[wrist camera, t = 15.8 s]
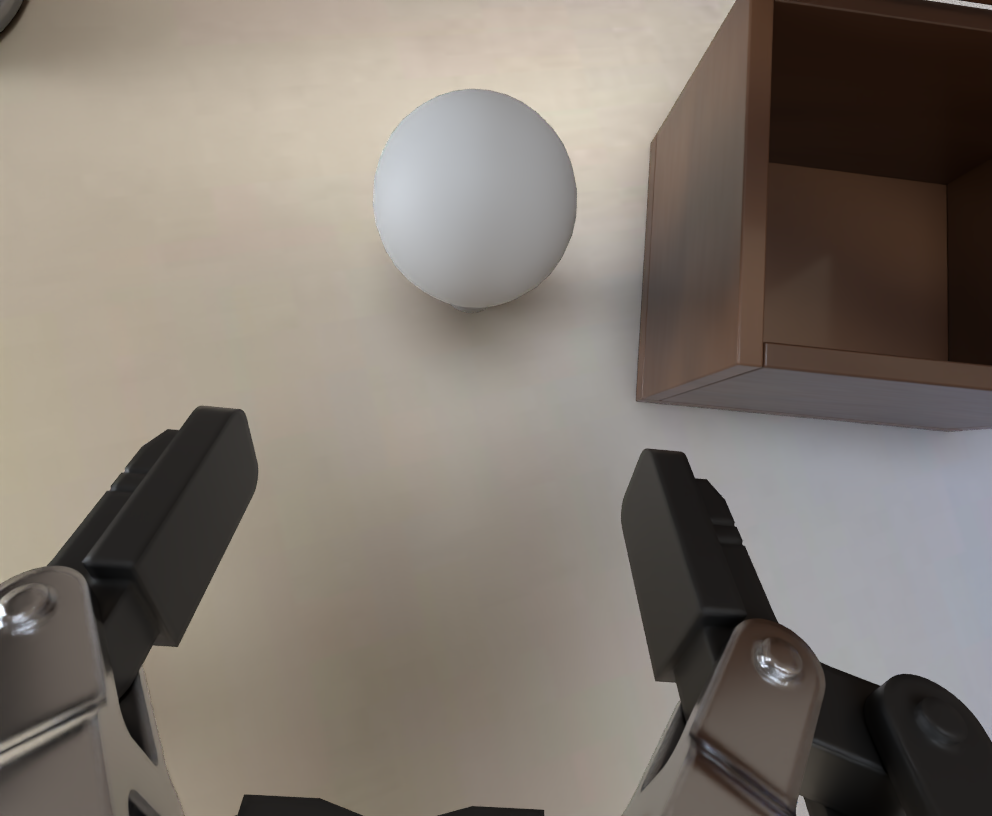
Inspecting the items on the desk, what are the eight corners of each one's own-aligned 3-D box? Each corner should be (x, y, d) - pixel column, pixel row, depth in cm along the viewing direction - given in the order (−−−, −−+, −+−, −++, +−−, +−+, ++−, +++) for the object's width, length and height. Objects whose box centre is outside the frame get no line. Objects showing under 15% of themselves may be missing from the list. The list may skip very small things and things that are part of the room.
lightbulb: (531, 224, 24) (589, 31, 14) (541, 353, 24) (612, 259, 13) (398, 229, 24) (348, 32, 13) (405, 360, 23) (360, 269, 12)
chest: (949, 431, 25) (1215, 413, 16) (635, 401, 24) (736, 364, 15) (946, 180, 26) (1189, 38, 17) (650, 142, 25) (751, -27, 17)
